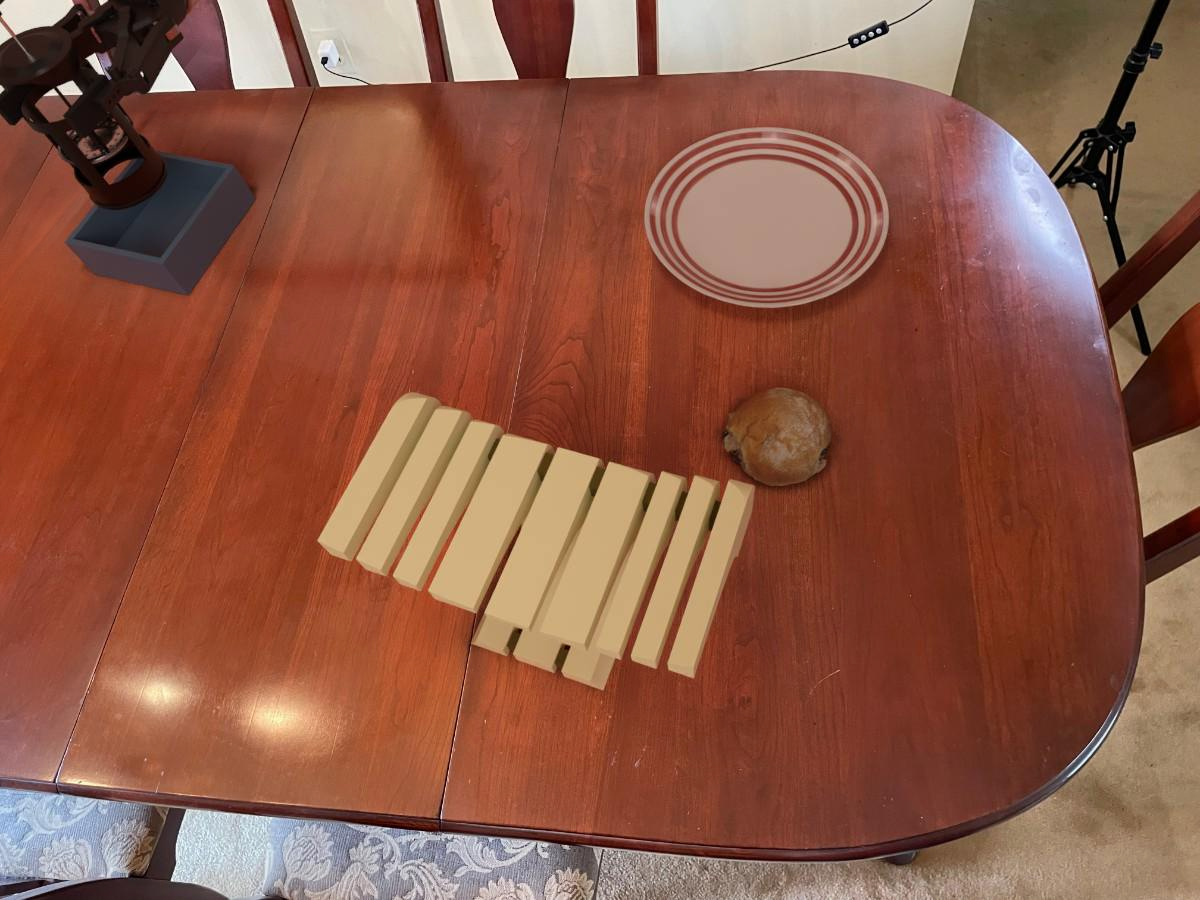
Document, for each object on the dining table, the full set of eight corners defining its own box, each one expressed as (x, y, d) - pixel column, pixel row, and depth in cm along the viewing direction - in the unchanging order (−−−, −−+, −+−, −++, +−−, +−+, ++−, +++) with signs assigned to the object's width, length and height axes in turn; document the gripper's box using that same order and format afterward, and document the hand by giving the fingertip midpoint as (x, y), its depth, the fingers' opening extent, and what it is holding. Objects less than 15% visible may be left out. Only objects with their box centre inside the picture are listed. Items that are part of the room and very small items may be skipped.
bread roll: (793, 512, 85) (838, 487, 78) (703, 469, 83) (741, 441, 76) (814, 429, 89) (858, 400, 82) (729, 388, 88) (766, 353, 81)
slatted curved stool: (746, 557, 79) (757, 468, 64) (695, 723, 72) (693, 667, 57) (461, 473, 87) (410, 375, 72) (391, 615, 80) (317, 540, 65)
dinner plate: (916, 180, 100) (923, 158, 97) (835, 354, 89) (840, 335, 86) (703, 125, 109) (703, 103, 106) (605, 278, 98) (602, 258, 95)
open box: (93, 274, 107) (63, 242, 102) (165, 182, 114) (140, 147, 109) (188, 296, 103) (162, 263, 98) (256, 199, 111) (235, 164, 106)
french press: (156, 209, 97) (10, 24, 77) (79, 219, 98) (-85, 38, 78) (178, 139, 103) (48, -51, 83) (106, 148, 103) (-41, -37, 84)
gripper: (251, 29, 98) (142, 164, 88) (103, 10, 104) (-15, 135, 94) (219, -35, 92) (98, 104, 82) (63, -52, 97) (-68, 76, 87)
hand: (38, 120), depth 88 cm, fingers closed on french press, 9 cm apart
